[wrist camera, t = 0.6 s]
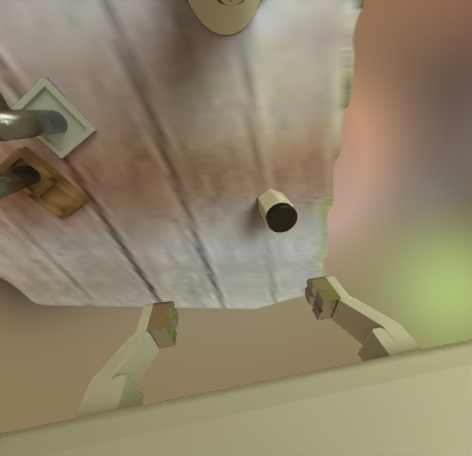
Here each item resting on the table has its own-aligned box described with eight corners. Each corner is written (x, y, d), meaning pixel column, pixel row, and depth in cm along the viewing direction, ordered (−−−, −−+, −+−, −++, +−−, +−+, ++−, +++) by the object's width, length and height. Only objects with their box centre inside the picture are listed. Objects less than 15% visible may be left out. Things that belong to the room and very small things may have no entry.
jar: (287, 194, 59) (304, 211, 49) (275, 215, 62) (289, 236, 52) (263, 185, 56) (276, 201, 46) (252, 208, 60) (261, 228, 50)
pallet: (2, 168, 45) (-7, 171, 43) (26, 146, 43) (18, 148, 41) (68, 216, 53) (63, 219, 51) (90, 199, 51) (85, 202, 49)
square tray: (14, 111, 39) (7, 111, 38) (48, 78, 37) (42, 77, 36) (65, 157, 45) (61, 158, 44) (97, 130, 43) (94, 130, 42)
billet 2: (13, 165, 43) (-58, 185, 32) (34, 164, 44) (-29, 184, 32) (25, 183, 46) (-37, 208, 34) (44, 182, 46) (-10, 206, 35)
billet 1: (38, 110, 39) (-33, 109, 28) (61, 109, 40) (0, 108, 28) (50, 133, 42) (-11, 141, 30) (71, 132, 42) (19, 140, 30)
